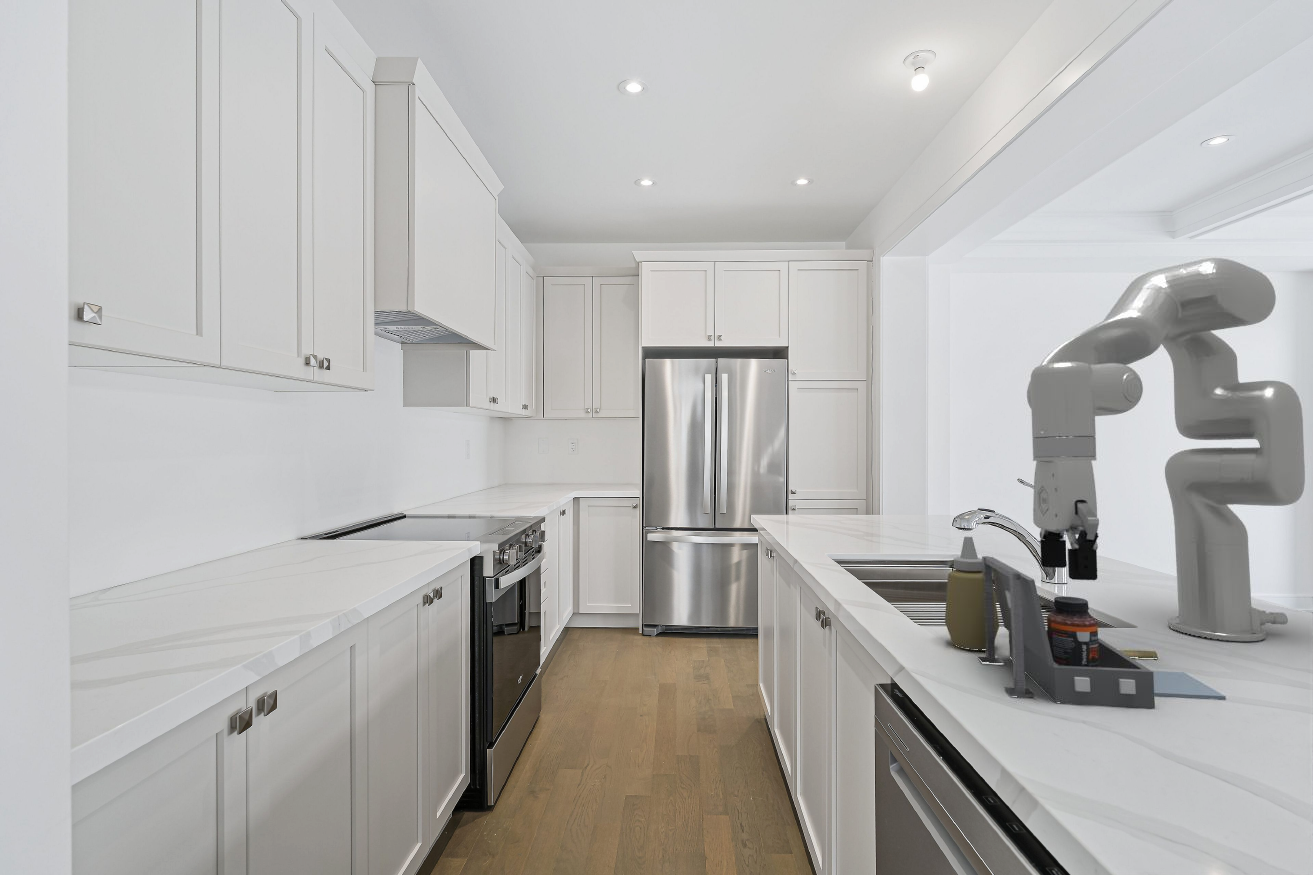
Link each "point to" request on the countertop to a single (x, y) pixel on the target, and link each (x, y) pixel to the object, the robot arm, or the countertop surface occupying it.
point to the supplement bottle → (1073, 633)
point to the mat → (1182, 686)
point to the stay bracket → (1016, 624)
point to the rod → (1140, 653)
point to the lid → (1024, 613)
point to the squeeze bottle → (967, 600)
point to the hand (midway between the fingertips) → (1067, 572)
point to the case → (1094, 679)
